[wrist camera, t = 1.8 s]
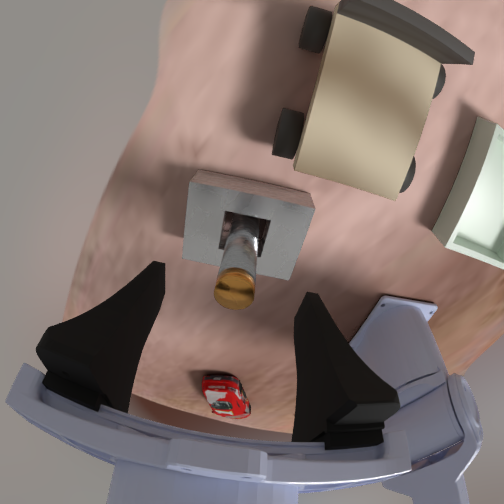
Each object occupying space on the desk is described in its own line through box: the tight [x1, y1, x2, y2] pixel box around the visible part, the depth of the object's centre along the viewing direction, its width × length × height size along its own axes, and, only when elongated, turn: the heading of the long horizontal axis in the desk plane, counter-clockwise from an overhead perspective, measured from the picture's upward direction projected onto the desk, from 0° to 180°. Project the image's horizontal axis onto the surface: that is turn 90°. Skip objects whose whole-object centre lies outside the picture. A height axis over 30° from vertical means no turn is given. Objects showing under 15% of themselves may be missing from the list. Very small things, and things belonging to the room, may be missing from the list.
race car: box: [202, 375, 251, 419], centre depth 35 cm, size 13×5×4 cm, turn 8°
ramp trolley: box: [272, 0, 475, 201], centre depth 12 cm, size 10×9×7 cm
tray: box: [432, 117, 504, 269], centre depth 16 cm, size 11×11×2 cm
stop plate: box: [182, 170, 315, 280], centre depth 19 cm, size 6×8×2 cm
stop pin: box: [214, 213, 260, 310], centre depth 17 cm, size 2×2×8 cm
